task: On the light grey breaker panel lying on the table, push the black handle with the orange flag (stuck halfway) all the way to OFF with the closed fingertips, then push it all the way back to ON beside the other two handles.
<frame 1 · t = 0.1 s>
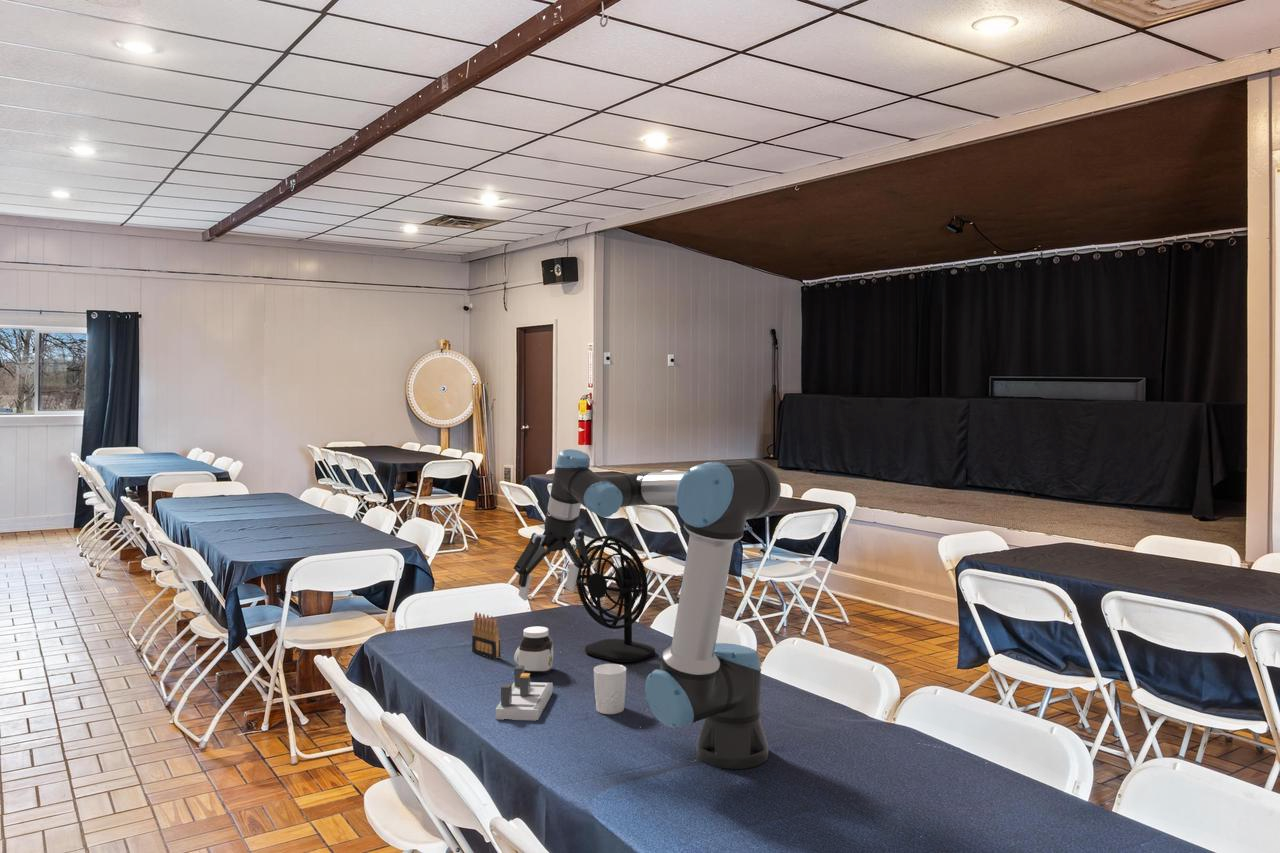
hand: (546, 593, 218), 28 cm above the table, tool tilted 20°, fingers open, 13 cm apart
white cup: (610, 710, 218), on the table
tripped handle: (525, 684, 220), point 5 cm above the table, slide at 3.0 cm
breaker panel: (525, 705, 220), on the table
handle a: (506, 694, 213), point 5 cm above the table, slide at 6.0 cm
spread jar: (532, 670, 248), on the table
ammunition clip: (486, 656, 261), on the table
handle c: (519, 675, 227), point 5 cm above the table, slide at 6.0 cm
desk fan: (617, 654, 262), on the table
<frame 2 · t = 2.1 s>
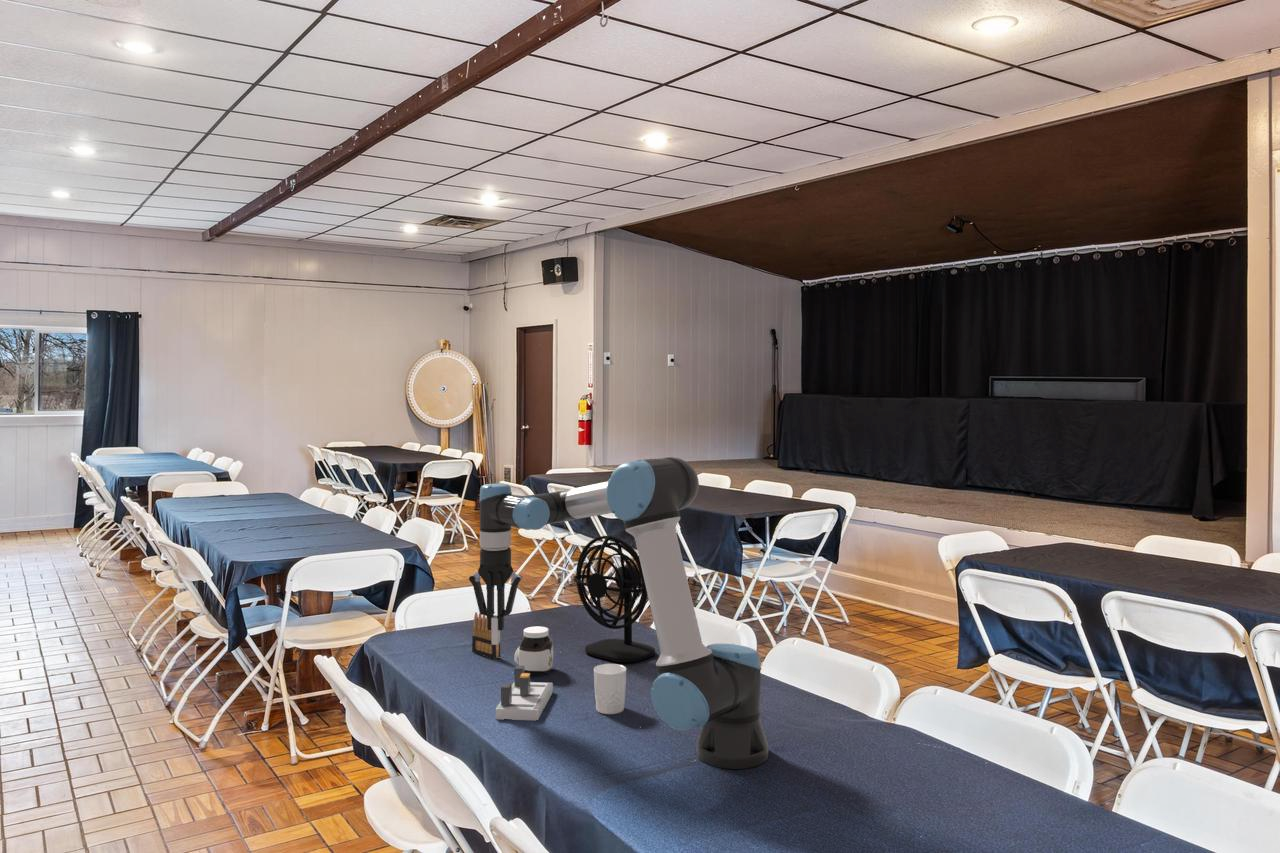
hand: (495, 642, 220), 15 cm above the table, tool pointing down, fingers closed
nothing on the table moved.
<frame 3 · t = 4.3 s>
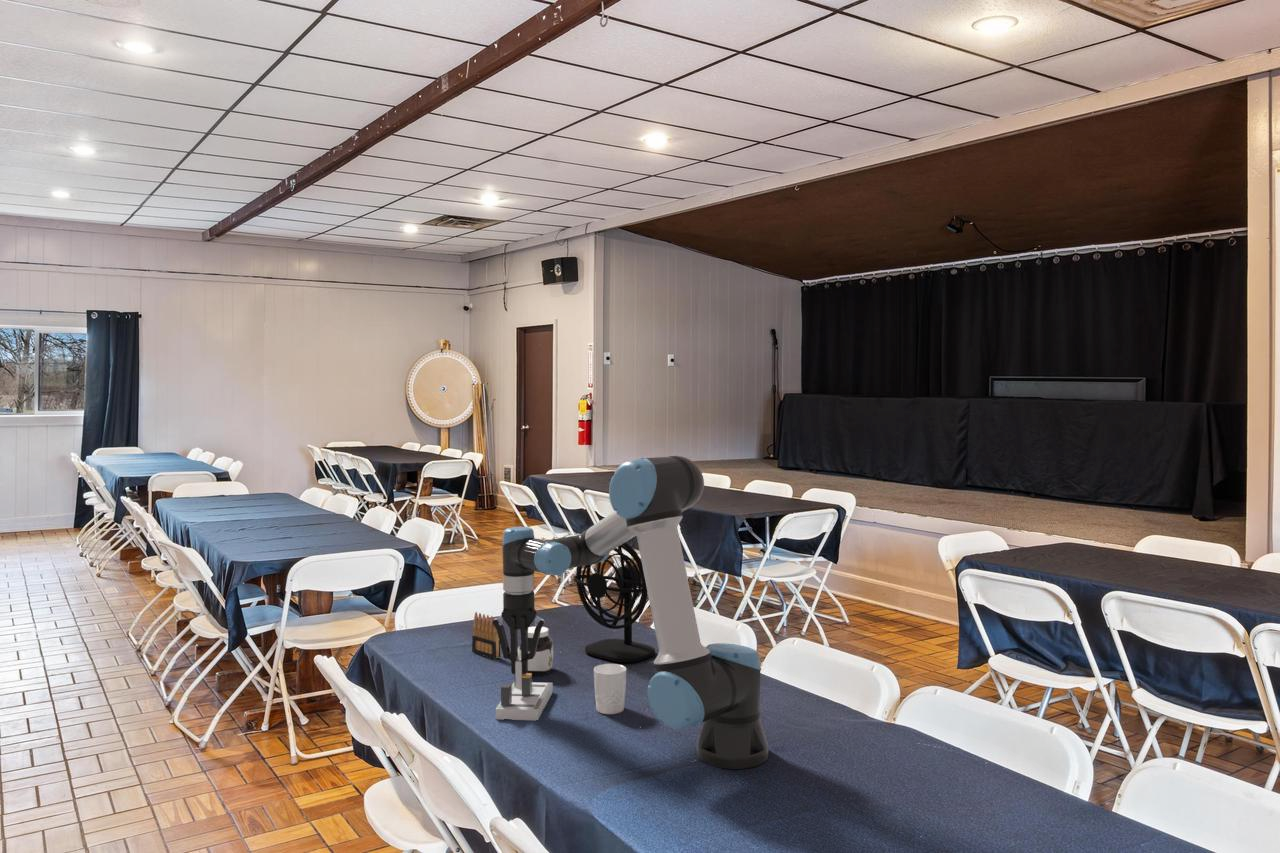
hand: (519, 686, 220), 5 cm above the table, tool pointing down, fingers closed
tripped handle: (526, 684, 220), point 5 cm above the table, slide at 2.6 cm, touching gripper
everything else where it was.
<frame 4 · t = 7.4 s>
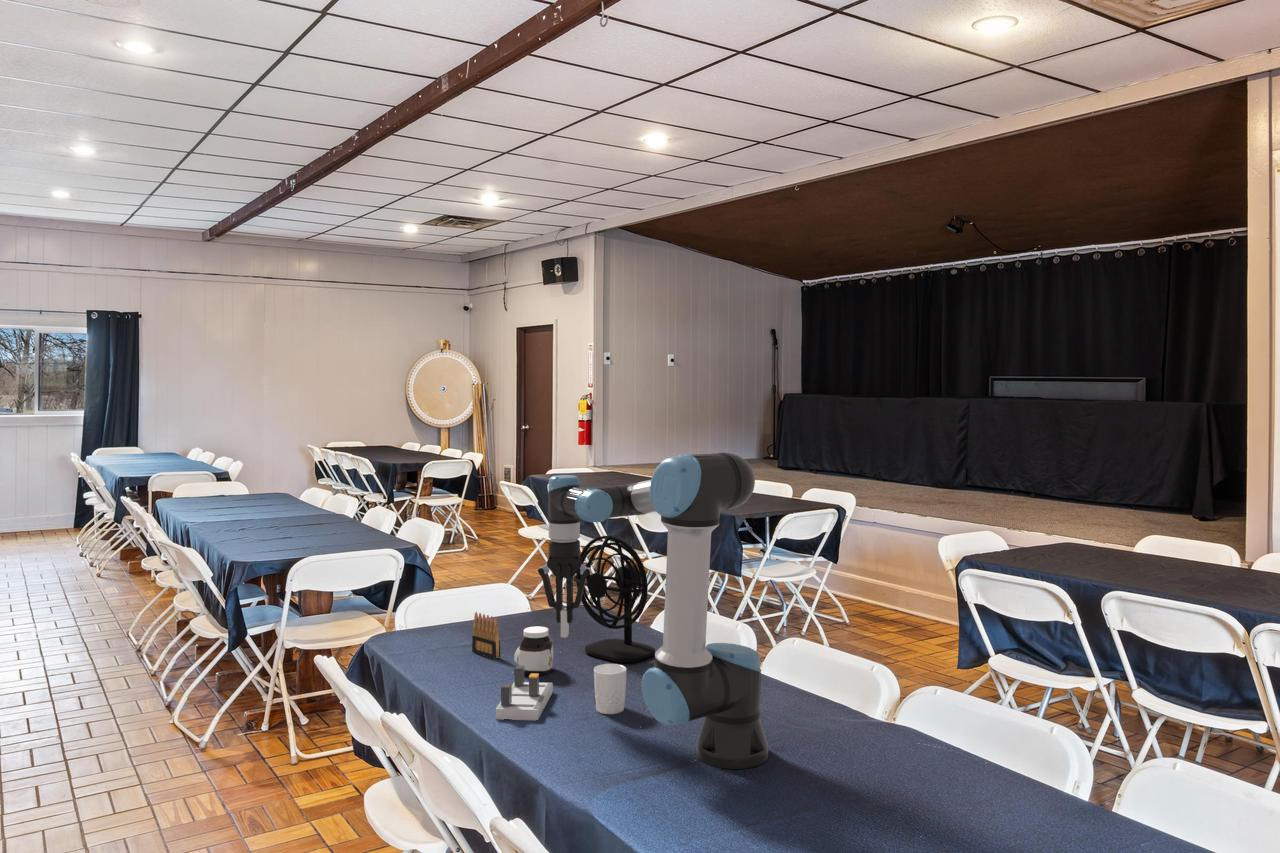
hand: (564, 635, 219), 17 cm above the table, tool pointing down, fingers closed
tripped handle: (534, 684, 220), point 5 cm above the table, slide at 0.8 cm
everything else where it was.
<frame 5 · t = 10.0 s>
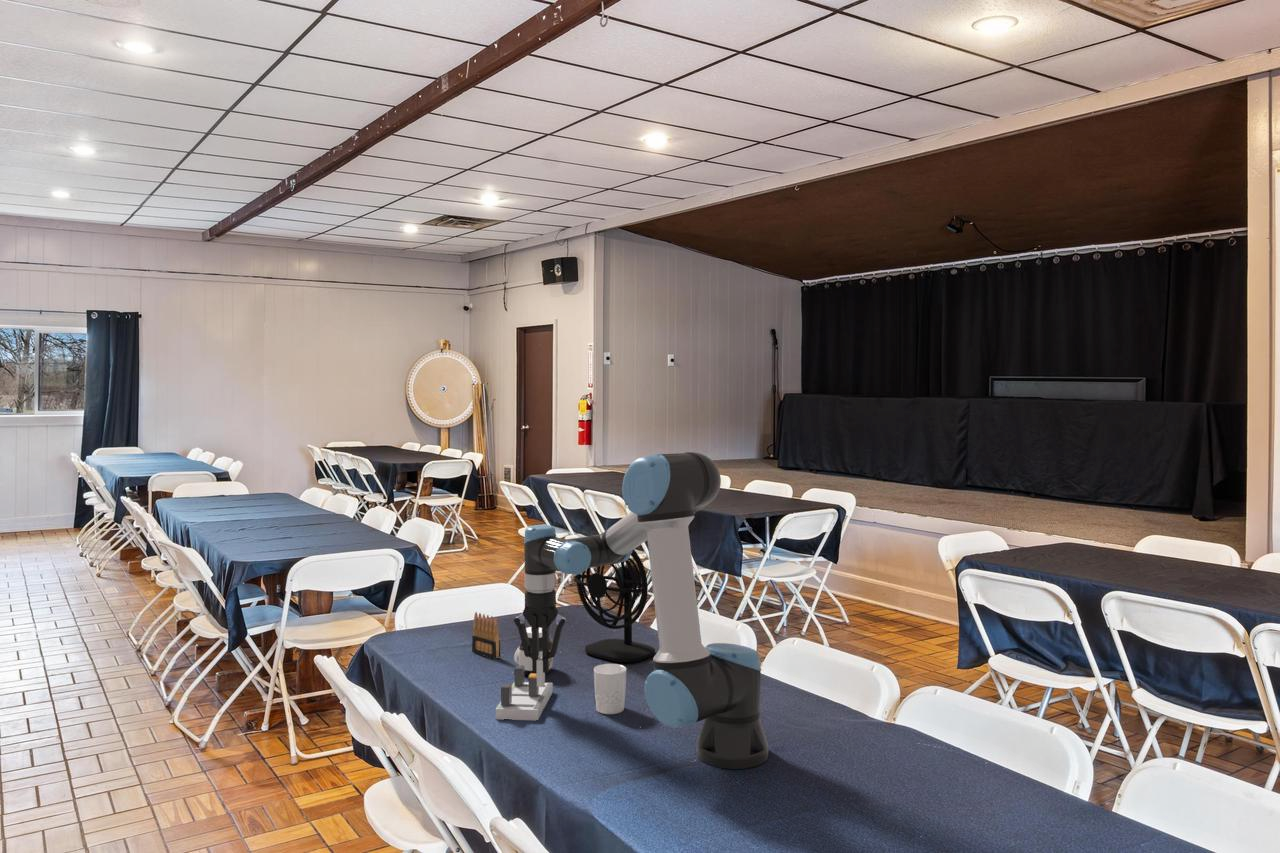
hand: (540, 684, 220), 5 cm above the table, tool pointing down, fingers closed
tripped handle: (533, 684, 220), point 5 cm above the table, slide at 0.9 cm, touching gripper
everything else where it was.
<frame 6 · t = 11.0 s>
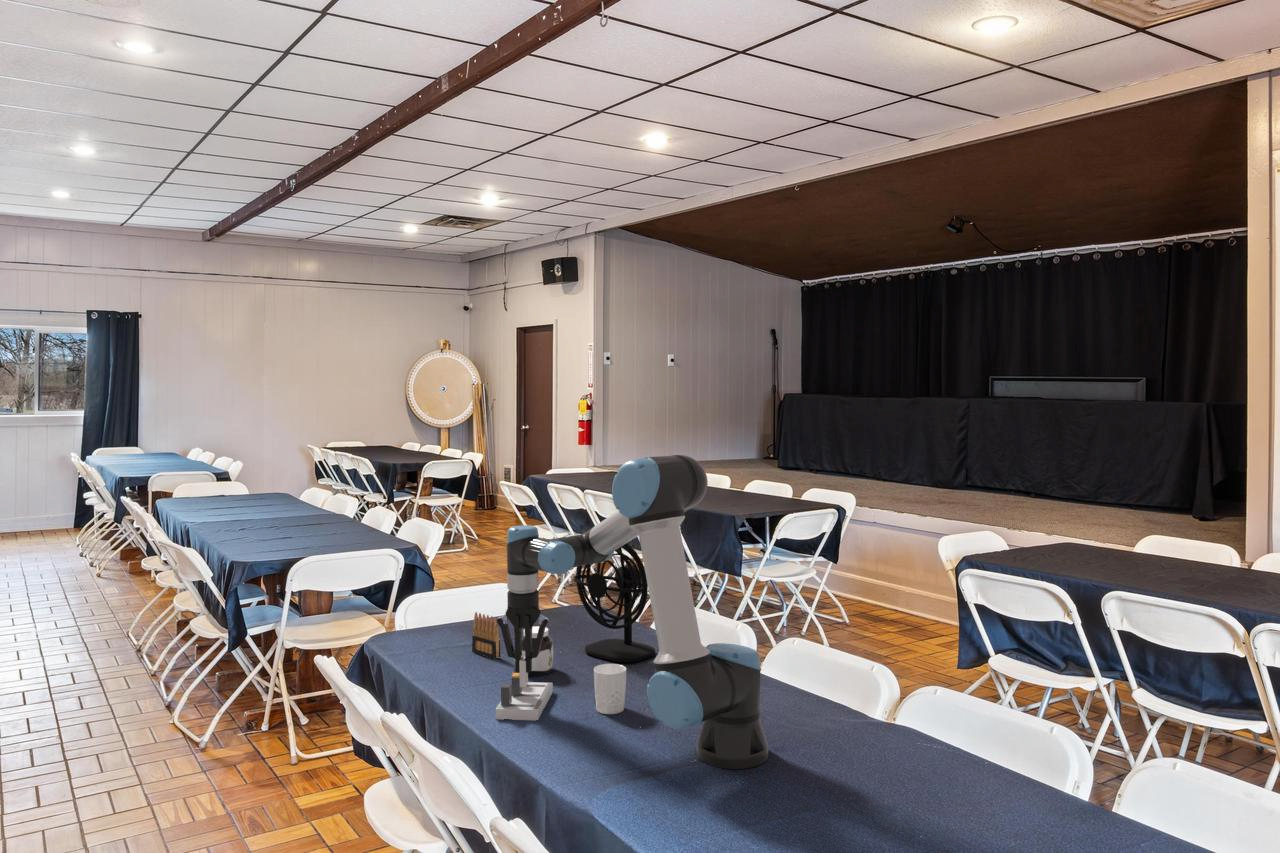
hand: (523, 685, 220), 5 cm above the table, tool pointing down, fingers closed
tripped handle: (516, 684, 220), point 5 cm above the table, slide at 5.1 cm, touching gripper
everything else where it was.
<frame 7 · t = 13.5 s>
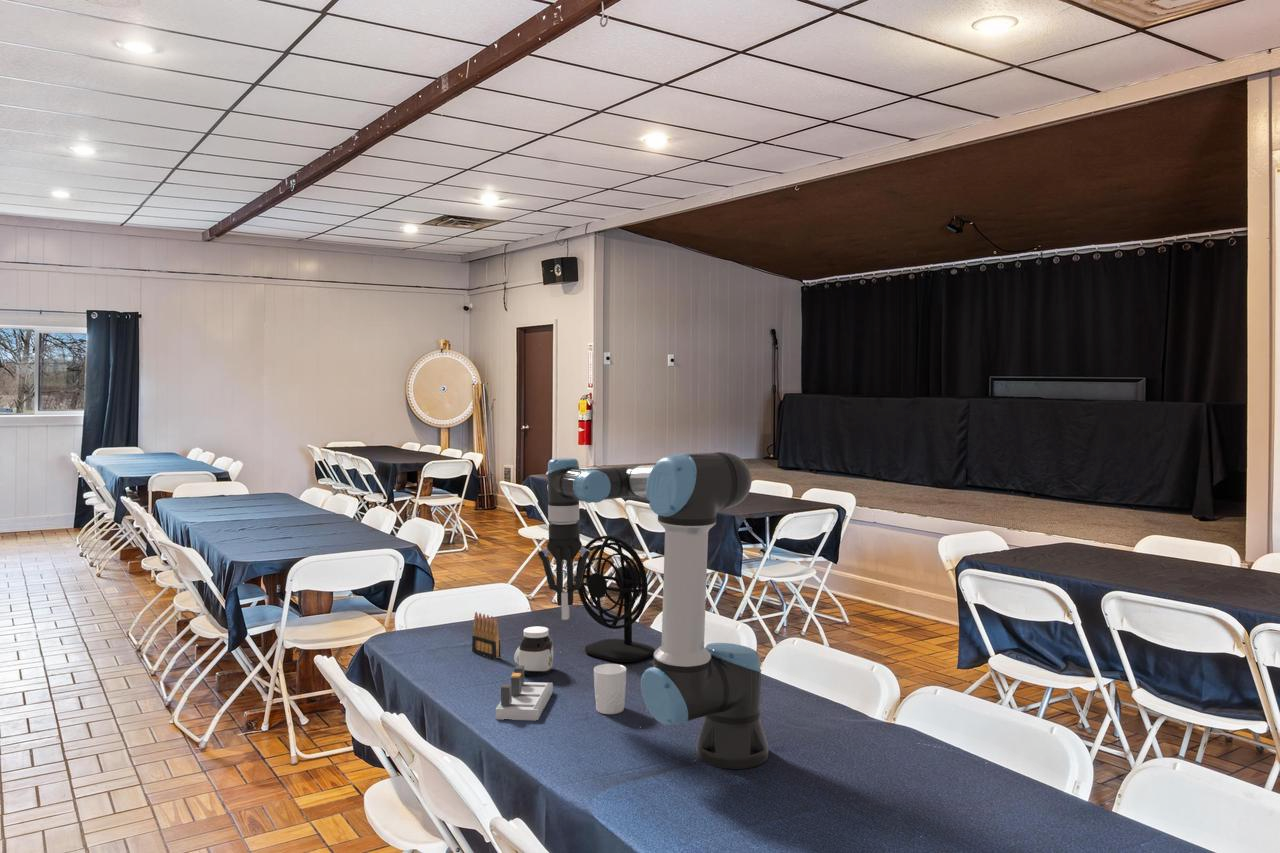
hand: (565, 618, 220), 21 cm above the table, tool pointing down, fingers closed
tripped handle: (516, 684, 220), point 5 cm above the table, slide at 5.2 cm
everything else where it was.
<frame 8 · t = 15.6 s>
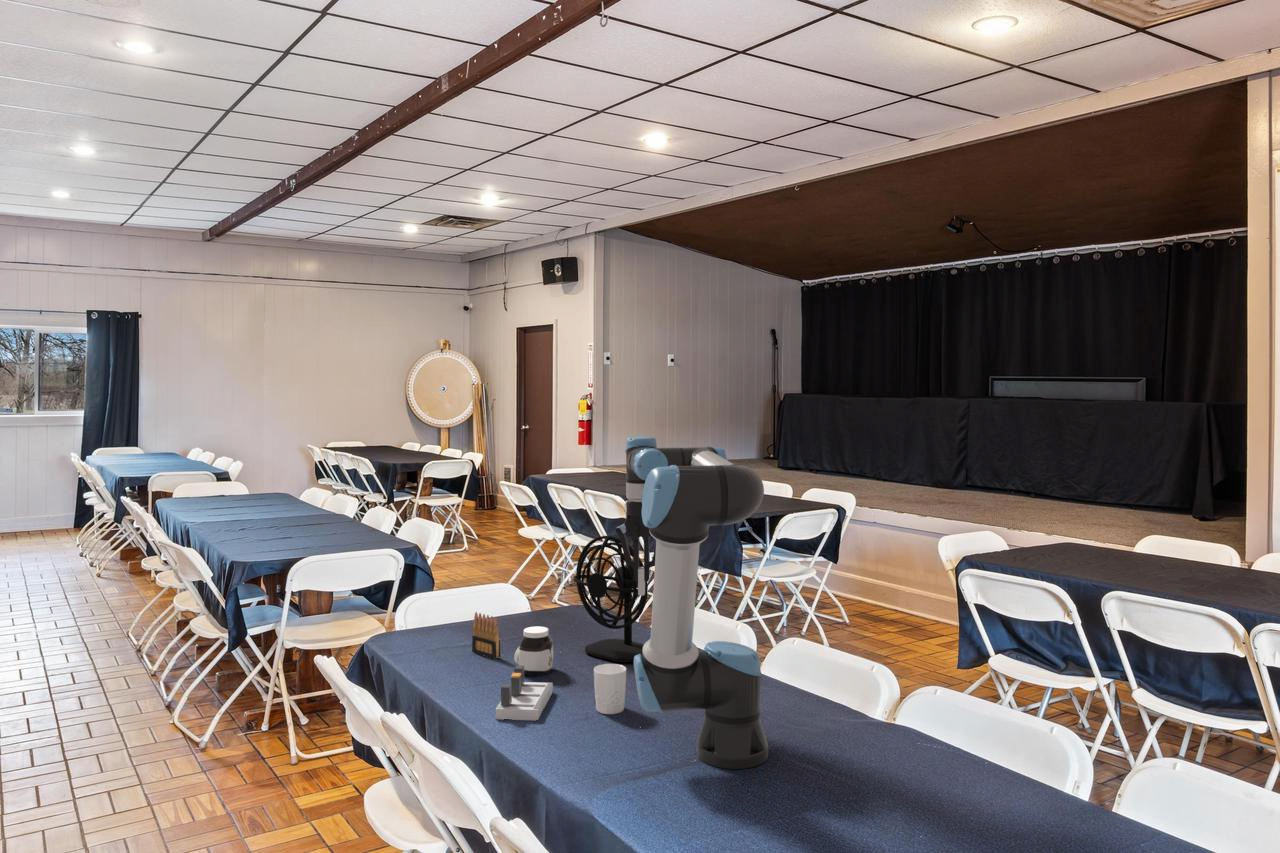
hand: (641, 593, 224), 26 cm above the table, tool pointing down, fingers closed
nothing on the table moved.
at the end: tripped handle slide at 5.2 cm; handle a slide at 6.0 cm; handle c slide at 6.0 cm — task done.
